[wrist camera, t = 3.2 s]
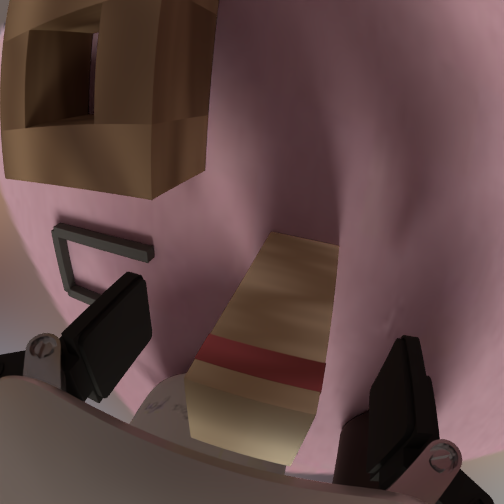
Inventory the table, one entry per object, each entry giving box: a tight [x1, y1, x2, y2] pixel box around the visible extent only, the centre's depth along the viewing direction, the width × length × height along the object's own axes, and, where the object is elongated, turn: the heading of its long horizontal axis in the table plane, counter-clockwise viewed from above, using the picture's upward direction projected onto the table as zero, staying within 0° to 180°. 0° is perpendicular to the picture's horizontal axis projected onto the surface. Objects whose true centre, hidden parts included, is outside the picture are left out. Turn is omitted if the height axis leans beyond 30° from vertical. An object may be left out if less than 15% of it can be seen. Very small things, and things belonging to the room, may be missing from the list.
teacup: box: [130, 373, 286, 475], centre depth 19 cm, size 14×11×8 cm
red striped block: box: [184, 232, 339, 466], centre depth 11 cm, size 3×3×9 cm
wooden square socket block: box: [0, 0, 219, 200], centre depth 11 cm, size 10×10×4 cm
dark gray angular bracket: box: [51, 223, 154, 305], centre depth 19 cm, size 8×6×1 cm
